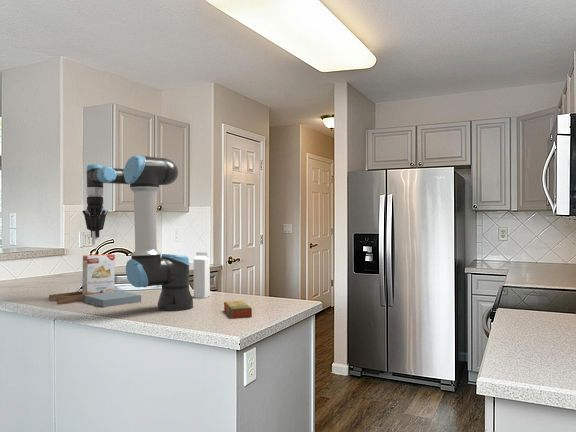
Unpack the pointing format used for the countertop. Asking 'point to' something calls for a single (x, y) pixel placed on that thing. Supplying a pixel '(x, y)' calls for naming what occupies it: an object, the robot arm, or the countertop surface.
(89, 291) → the cracker box
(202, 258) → the milk
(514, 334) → the countertop surface
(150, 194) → the robot arm
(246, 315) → the carton
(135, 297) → the slate board
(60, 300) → the slot rack
